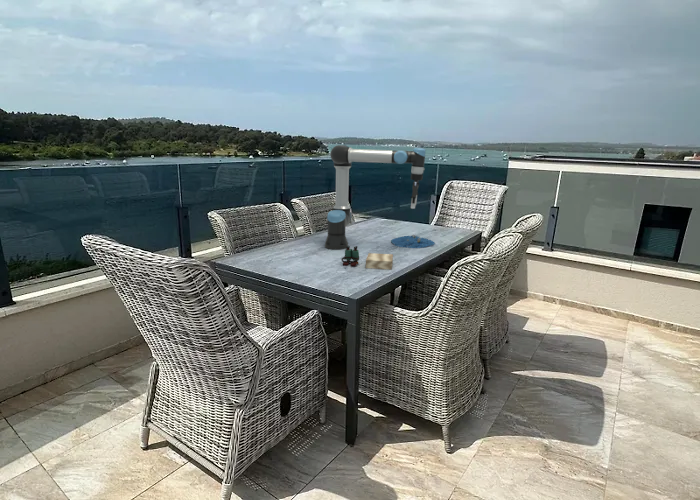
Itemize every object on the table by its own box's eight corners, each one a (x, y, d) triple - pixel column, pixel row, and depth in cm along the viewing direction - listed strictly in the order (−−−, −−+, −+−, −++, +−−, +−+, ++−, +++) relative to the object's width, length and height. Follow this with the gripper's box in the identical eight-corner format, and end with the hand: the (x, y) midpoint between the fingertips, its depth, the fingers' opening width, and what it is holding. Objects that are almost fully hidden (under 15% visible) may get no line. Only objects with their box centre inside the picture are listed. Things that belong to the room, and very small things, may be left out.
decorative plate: (435, 252, 245) (435, 244, 243) (389, 248, 250) (389, 241, 248) (434, 239, 272) (434, 232, 271) (392, 237, 277) (392, 230, 276)
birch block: (365, 268, 205) (365, 260, 204) (368, 261, 219) (368, 253, 217) (391, 270, 203) (391, 261, 202) (392, 262, 217) (392, 254, 215)
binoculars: (339, 250, 204) (345, 244, 213) (340, 267, 208) (346, 261, 217) (355, 251, 201) (360, 245, 210) (355, 269, 205) (361, 262, 214)
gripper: (422, 175, 226) (418, 210, 233) (423, 172, 250) (420, 203, 256) (409, 174, 228) (406, 209, 234) (412, 171, 251) (409, 202, 257)
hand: (413, 206), depth 245 cm, fingers open, 13 cm apart
